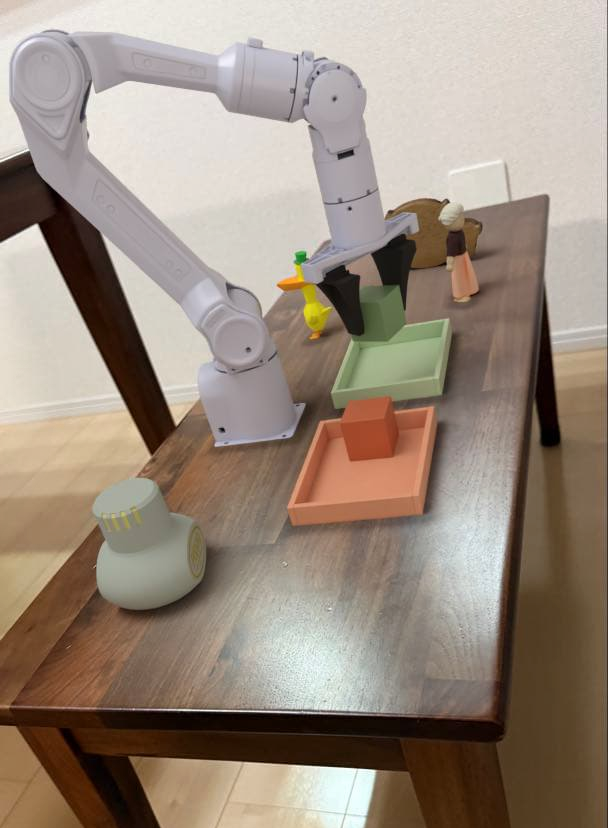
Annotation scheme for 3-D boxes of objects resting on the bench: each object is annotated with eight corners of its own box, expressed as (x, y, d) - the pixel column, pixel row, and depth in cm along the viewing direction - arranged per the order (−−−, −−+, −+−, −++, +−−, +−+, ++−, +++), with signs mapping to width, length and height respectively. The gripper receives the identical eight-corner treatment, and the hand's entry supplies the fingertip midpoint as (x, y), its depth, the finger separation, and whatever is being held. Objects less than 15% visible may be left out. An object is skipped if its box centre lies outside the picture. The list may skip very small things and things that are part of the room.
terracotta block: (349, 461, 85) (339, 422, 82) (357, 438, 88) (347, 401, 86) (393, 457, 83) (384, 417, 81) (399, 434, 87) (391, 395, 84)
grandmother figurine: (478, 306, 110) (465, 208, 103) (449, 311, 111) (433, 214, 104) (480, 285, 116) (467, 191, 109) (452, 290, 117) (438, 197, 110)
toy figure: (289, 348, 115) (265, 262, 109) (297, 336, 118) (274, 252, 111) (336, 342, 113) (314, 254, 106) (342, 331, 115) (321, 244, 109)
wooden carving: (487, 250, 127) (478, 181, 121) (485, 260, 123) (476, 190, 118) (381, 268, 132) (367, 204, 127) (376, 279, 129) (362, 213, 123)
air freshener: (133, 558, 82) (93, 471, 76) (214, 542, 80) (180, 453, 75) (108, 633, 73) (61, 541, 67) (199, 617, 71) (158, 522, 66)
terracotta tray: (293, 530, 78) (286, 508, 77) (325, 441, 91) (319, 420, 89) (423, 519, 75) (418, 495, 73) (438, 428, 87) (434, 405, 86)
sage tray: (335, 413, 96) (330, 392, 94) (357, 352, 108) (353, 333, 107) (442, 399, 92) (439, 377, 90) (452, 337, 104) (449, 317, 103)
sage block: (388, 342, 90) (379, 302, 87) (352, 341, 92) (343, 303, 90) (407, 323, 93) (399, 284, 90) (371, 324, 95) (363, 285, 93)
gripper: (377, 169, 90) (400, 291, 98) (271, 218, 84) (305, 343, 92) (423, 169, 85) (444, 298, 92) (313, 222, 79) (345, 354, 87)
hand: (377, 321), depth 92 cm, fingers closed on sage block, 5 cm apart
